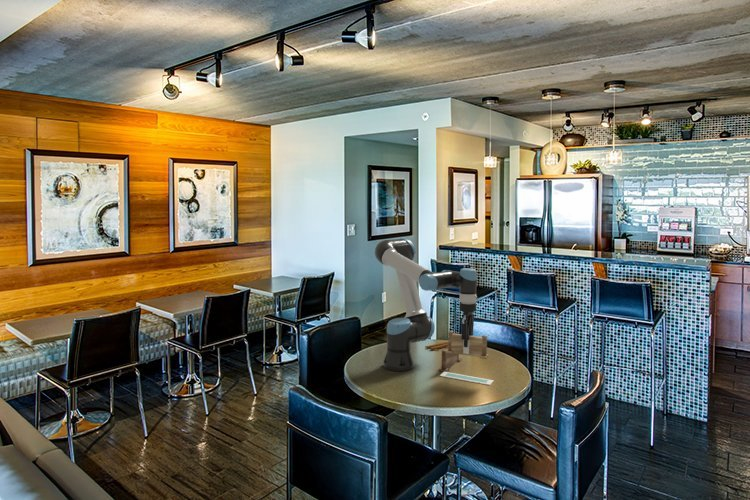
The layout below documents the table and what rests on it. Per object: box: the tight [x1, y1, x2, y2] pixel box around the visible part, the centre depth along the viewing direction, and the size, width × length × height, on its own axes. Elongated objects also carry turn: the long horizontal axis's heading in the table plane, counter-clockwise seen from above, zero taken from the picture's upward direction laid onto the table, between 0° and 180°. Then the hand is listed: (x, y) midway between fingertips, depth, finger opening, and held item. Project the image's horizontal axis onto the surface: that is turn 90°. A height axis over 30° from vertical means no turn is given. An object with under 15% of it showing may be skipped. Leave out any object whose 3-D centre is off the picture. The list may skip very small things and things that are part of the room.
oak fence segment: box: [446, 330, 489, 360], centre depth 229 cm, size 4×19×10 cm, turn 61°
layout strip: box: [439, 371, 494, 386], centre depth 230 cm, size 24×6×1 cm, turn 61°
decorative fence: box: [424, 341, 448, 352], centre depth 282 cm, size 25×2×10 cm
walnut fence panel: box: [438, 348, 463, 373], centre depth 248 cm, size 4×21×10 cm, turn 151°
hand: (467, 352), depth 229 cm, fingers closed on oak fence segment, 2 cm apart
